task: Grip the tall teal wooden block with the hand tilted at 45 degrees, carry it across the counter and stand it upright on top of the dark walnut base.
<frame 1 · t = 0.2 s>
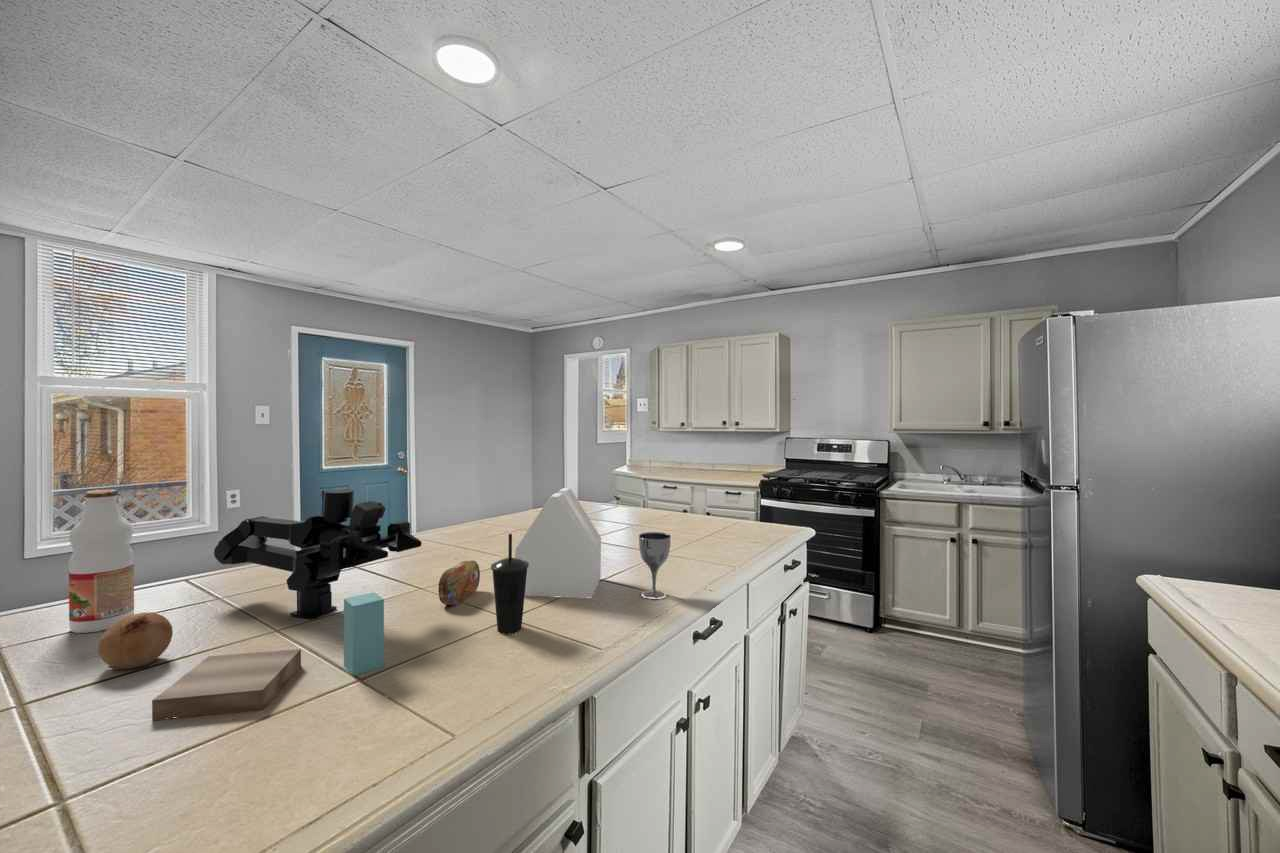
hand: (404, 549, 107), 17 cm above the countertop, tool horizontal, fingers open, 9 cm apart
tin: (459, 599, 126), on the countertop
teal block: (363, 666, 92), on the countertop
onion: (137, 665, 91), on the countertop
walnut base: (234, 690, 83), on the countertop
fruit juice: (102, 625, 108), on the countertop
wine glass: (653, 595, 130), on the countertop
milk carton: (559, 588, 136), on the countertop
drinking cup: (509, 630, 108), on the countertop
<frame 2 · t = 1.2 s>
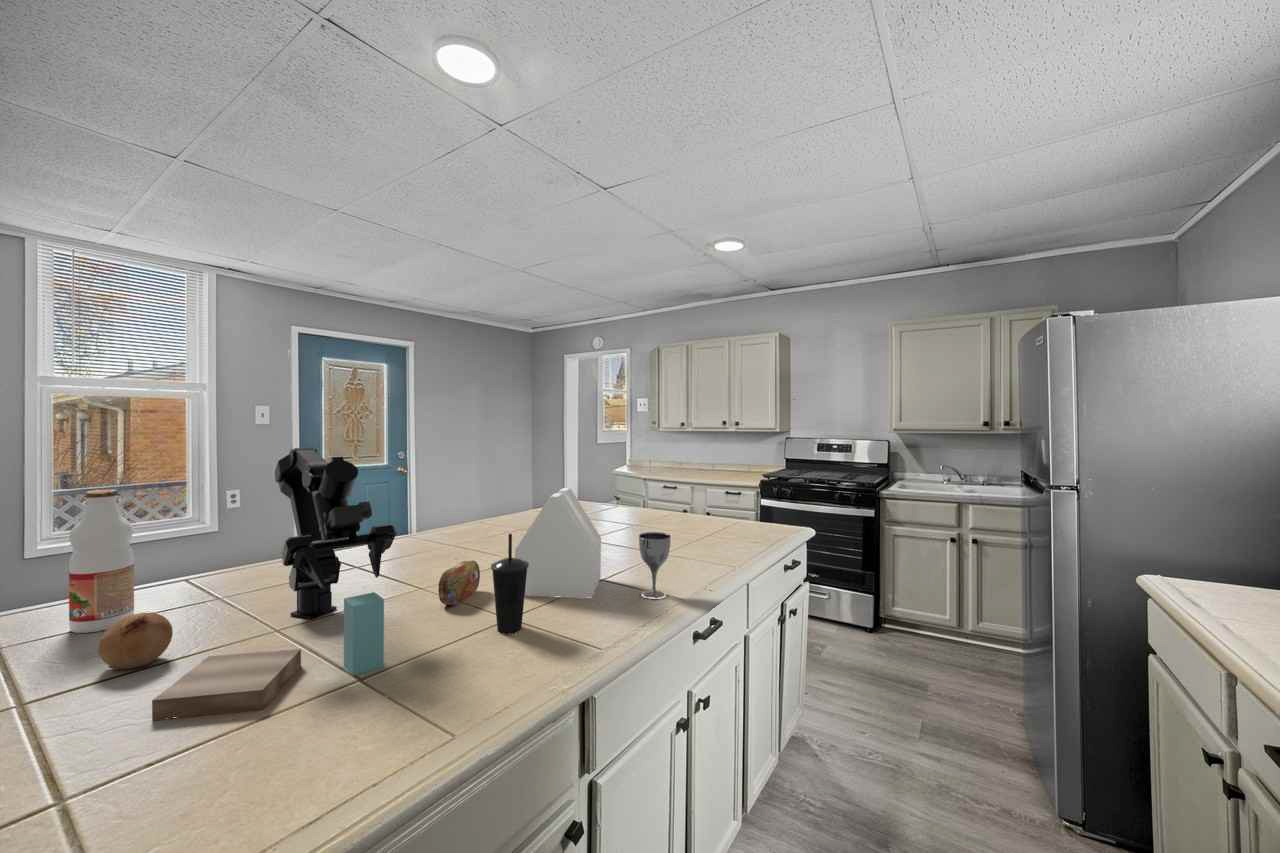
hand: (351, 581, 97), 13 cm above the countertop, tool tilted 45°, fingers open, 9 cm apart
nothing on the countertop moved.
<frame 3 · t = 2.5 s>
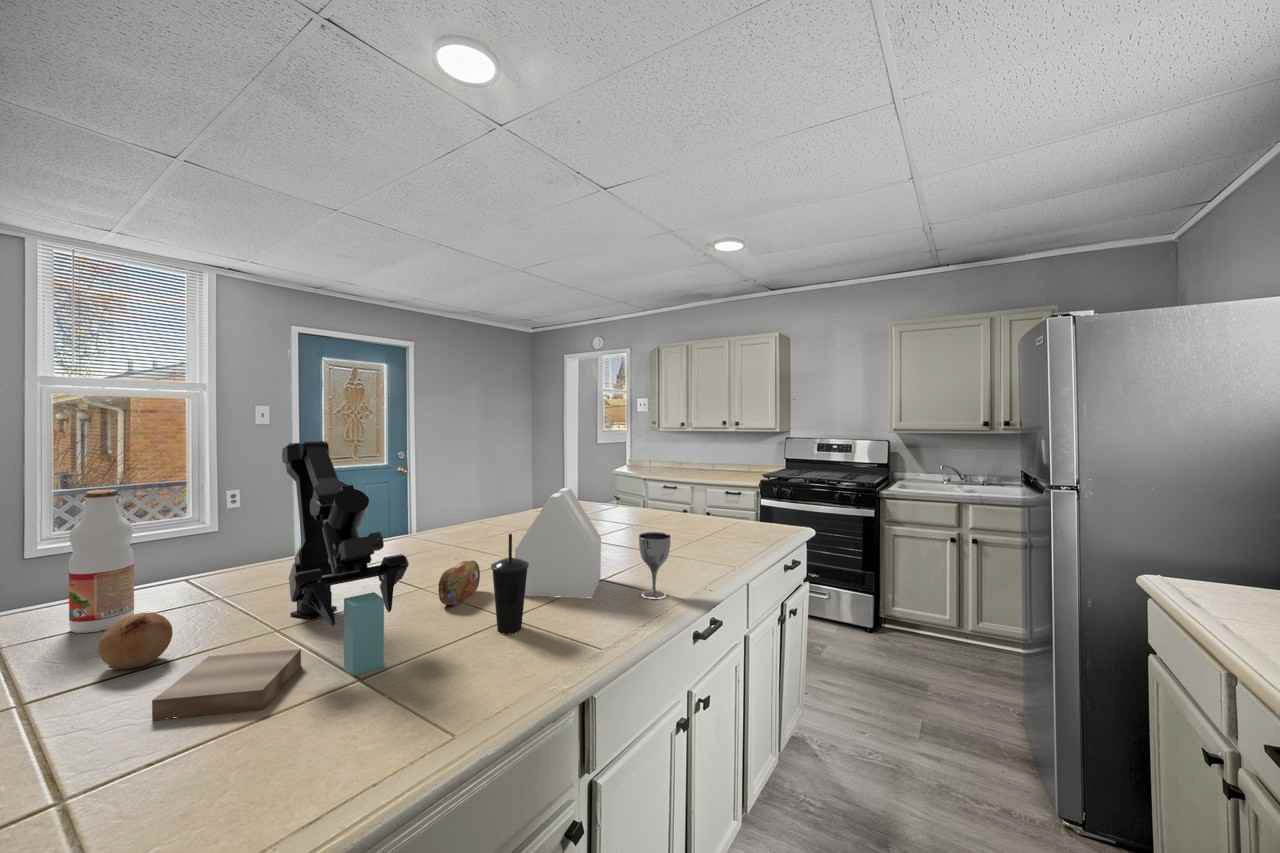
hand: (362, 617, 92), 8 cm above the countertop, tool tilted 45°, fingers open, 9 cm apart
nothing on the countertop moved.
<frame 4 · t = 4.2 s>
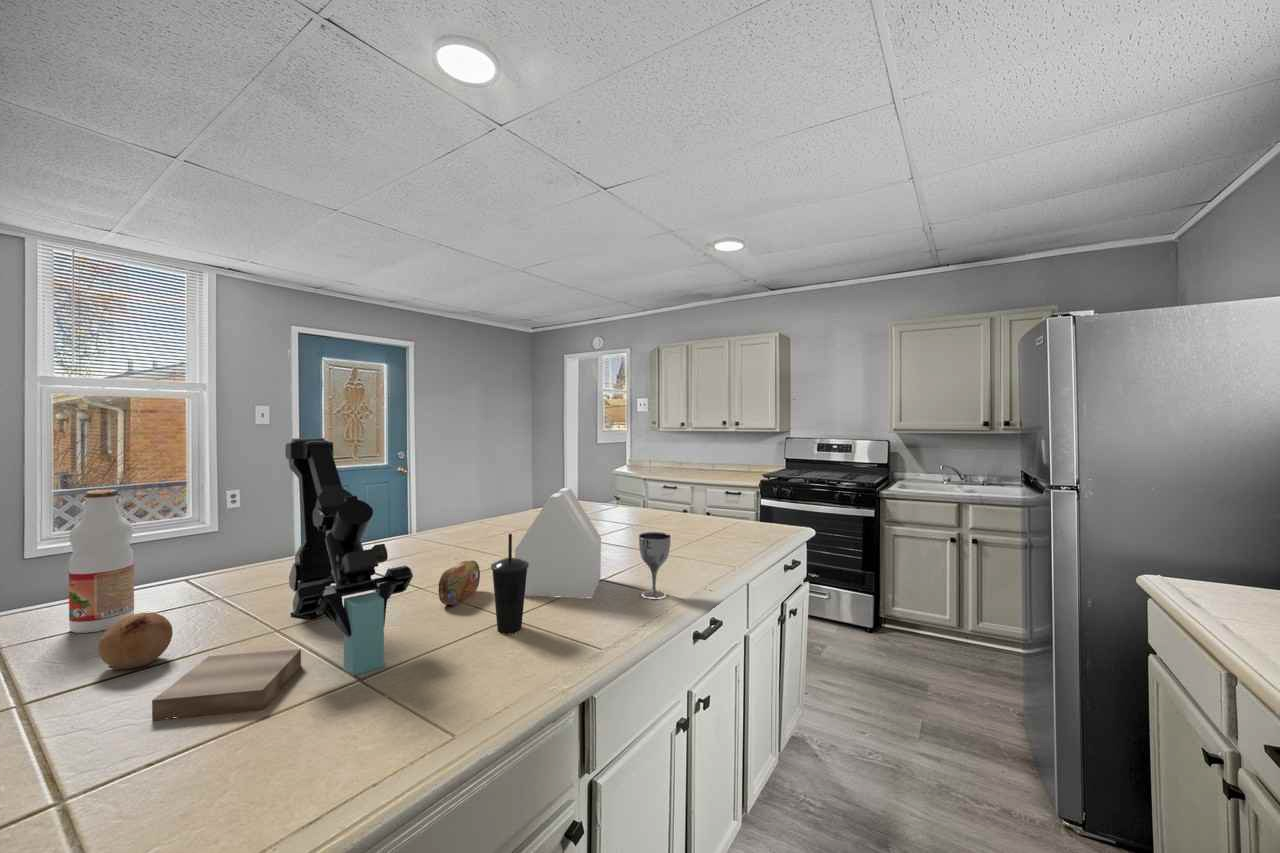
hand: (366, 631, 91), 7 cm above the countertop, tool tilted 45°, fingers closed on teal block, 5 cm apart
teal block: (363, 665, 92), on the countertop, touching gripper
everything else where it was.
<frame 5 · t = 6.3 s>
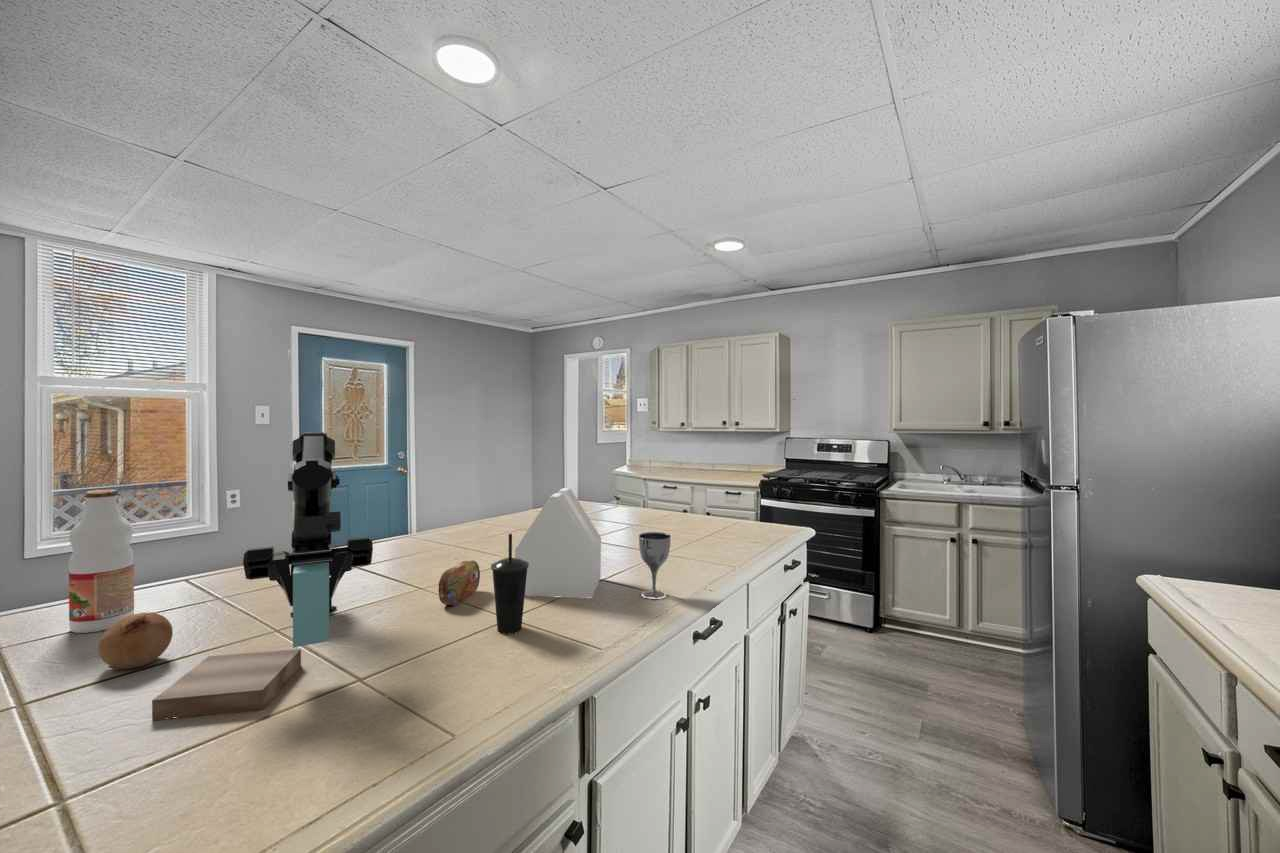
hand: (311, 602, 86), 13 cm above the countertop, tool tilted 45°, fingers closed on teal block, 5 cm apart
teal block: (311, 638, 87), point 7 cm above the countertop, touching gripper
everything else where it was.
when the fingers open (11 cm above the countertop, at t = 8.4 s): teal block drops 1 cm, resting on walnut base.
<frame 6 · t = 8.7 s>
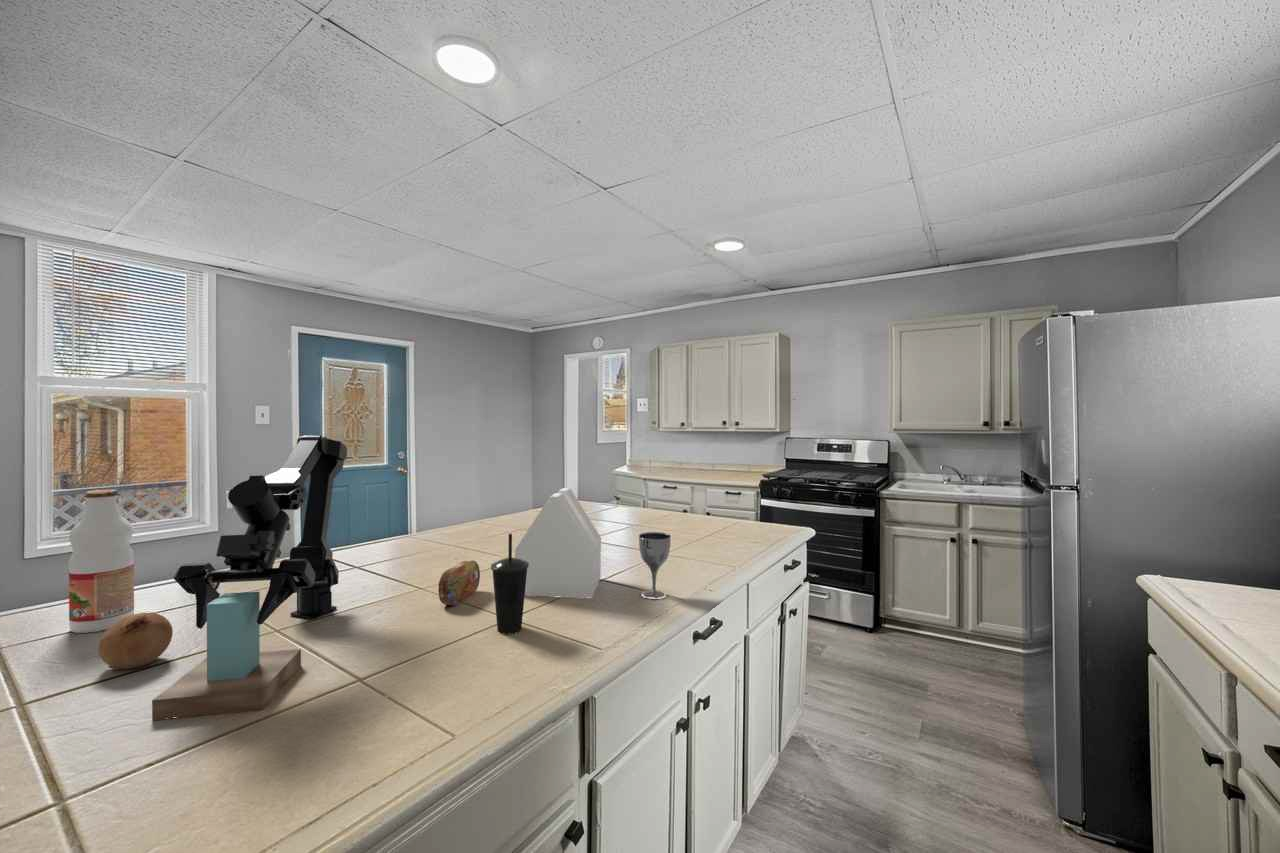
hand: (229, 625, 82), 11 cm above the countertop, tool tilted 45°, fingers open, 8 cm apart
teal block: (234, 672, 83), point 3 cm above the countertop, touching walnut base
everything else where it was.
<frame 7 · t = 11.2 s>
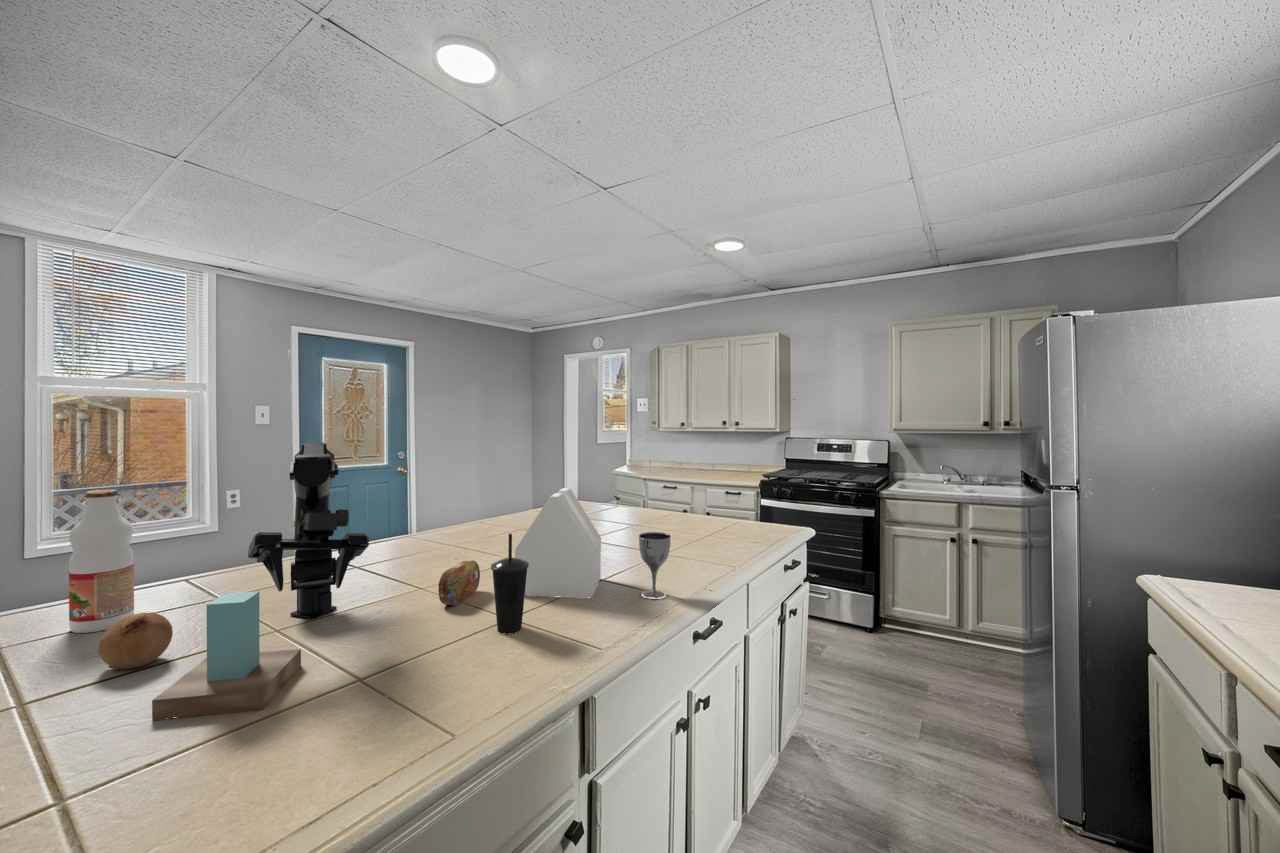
hand: (310, 589, 95), 12 cm above the countertop, tool tilted 35°, fingers open, 9 cm apart
nothing on the countertop moved.
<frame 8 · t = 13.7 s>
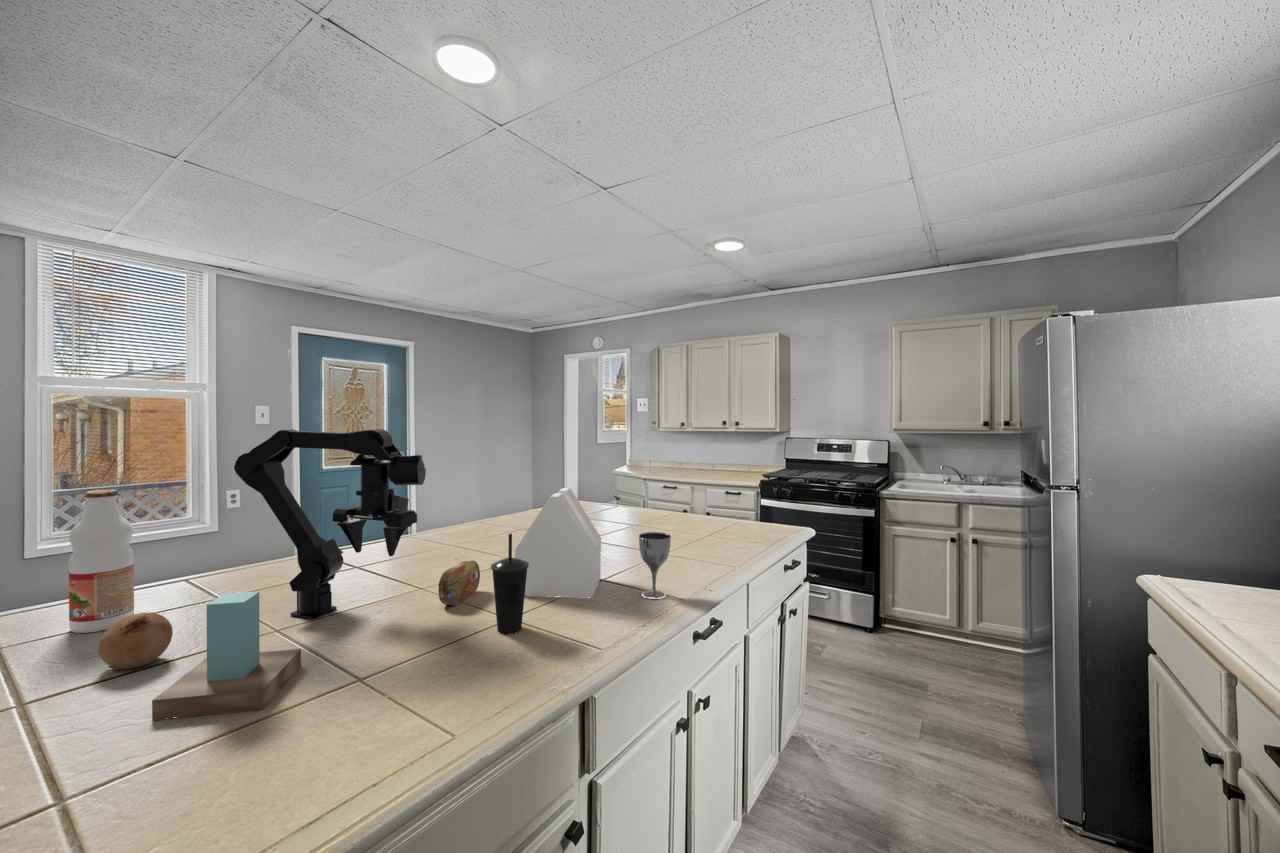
hand: (374, 554, 117), 13 cm above the countertop, tool pointing down, fingers open, 9 cm apart
nothing on the countertop moved.
at the end: teal block inside the target area on the walnut base (0.0 cm from its centre), point 3.0 cm above the walnut base's base; teal block tilted 0°; the gripper is holding nothing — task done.
